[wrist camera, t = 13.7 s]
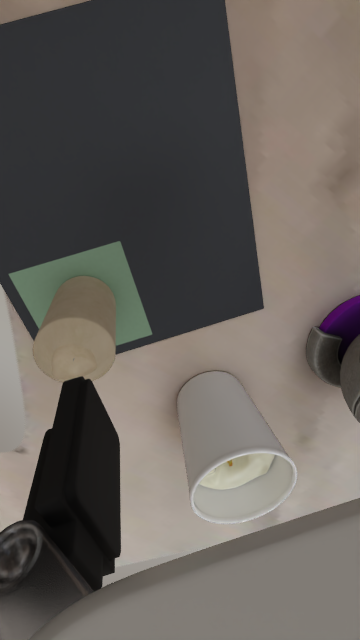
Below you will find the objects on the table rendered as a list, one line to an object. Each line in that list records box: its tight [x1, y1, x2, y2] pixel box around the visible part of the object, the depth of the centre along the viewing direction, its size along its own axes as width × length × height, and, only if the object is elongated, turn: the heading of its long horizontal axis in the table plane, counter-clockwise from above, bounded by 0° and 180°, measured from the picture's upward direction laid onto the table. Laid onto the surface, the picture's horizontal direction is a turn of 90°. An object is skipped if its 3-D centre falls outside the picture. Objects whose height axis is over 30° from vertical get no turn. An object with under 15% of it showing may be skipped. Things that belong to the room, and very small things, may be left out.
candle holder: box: [177, 371, 297, 524], centre depth 32 cm, size 10×10×12 cm
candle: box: [33, 276, 116, 382], centre depth 25 cm, size 6×6×10 cm
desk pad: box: [0, 0, 264, 355], centre depth 26 cm, size 26×23×1 cm
